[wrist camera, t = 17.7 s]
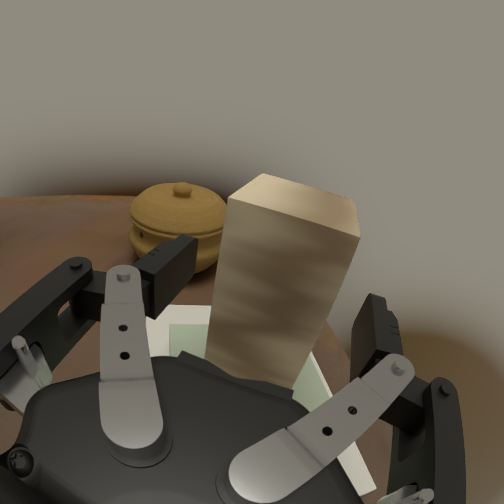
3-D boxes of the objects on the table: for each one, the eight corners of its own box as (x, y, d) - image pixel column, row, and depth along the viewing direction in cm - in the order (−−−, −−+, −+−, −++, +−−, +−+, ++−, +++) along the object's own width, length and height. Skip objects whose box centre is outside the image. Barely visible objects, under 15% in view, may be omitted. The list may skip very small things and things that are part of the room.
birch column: (201, 385, 16) (228, 197, 11) (228, 336, 21) (262, 173, 15) (277, 413, 16) (360, 237, 10) (293, 358, 20) (354, 200, 14)
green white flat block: (147, 315, 26) (146, 282, 24) (285, 316, 30) (295, 285, 28) (158, 535, 9) (151, 533, 7) (365, 493, 13) (396, 477, 12)
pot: (153, 231, 40) (157, 164, 36) (231, 250, 40) (244, 180, 35) (112, 273, 30) (108, 189, 25) (209, 301, 30) (223, 212, 25)
